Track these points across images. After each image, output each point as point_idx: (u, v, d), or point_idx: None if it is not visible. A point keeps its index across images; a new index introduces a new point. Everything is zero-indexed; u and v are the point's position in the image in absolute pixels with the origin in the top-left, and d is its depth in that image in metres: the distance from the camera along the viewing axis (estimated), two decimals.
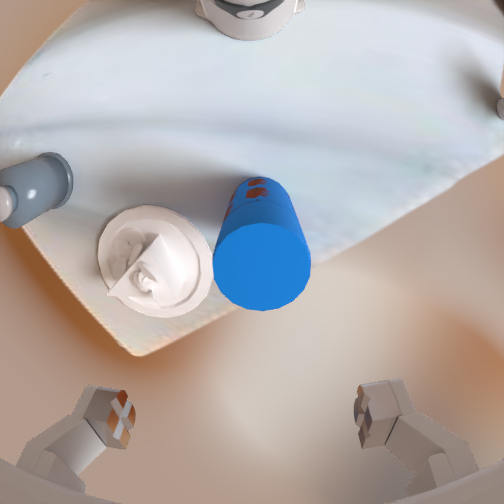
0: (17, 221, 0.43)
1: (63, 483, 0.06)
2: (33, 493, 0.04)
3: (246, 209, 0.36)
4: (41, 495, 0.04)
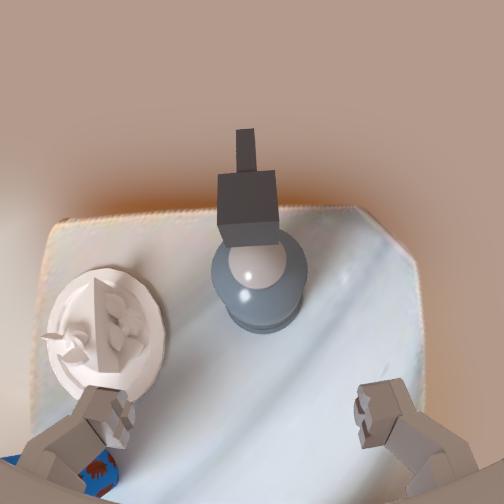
0: (223, 258, 0.36)
1: (63, 483, 0.06)
2: (33, 493, 0.04)
3: None
4: (41, 495, 0.04)
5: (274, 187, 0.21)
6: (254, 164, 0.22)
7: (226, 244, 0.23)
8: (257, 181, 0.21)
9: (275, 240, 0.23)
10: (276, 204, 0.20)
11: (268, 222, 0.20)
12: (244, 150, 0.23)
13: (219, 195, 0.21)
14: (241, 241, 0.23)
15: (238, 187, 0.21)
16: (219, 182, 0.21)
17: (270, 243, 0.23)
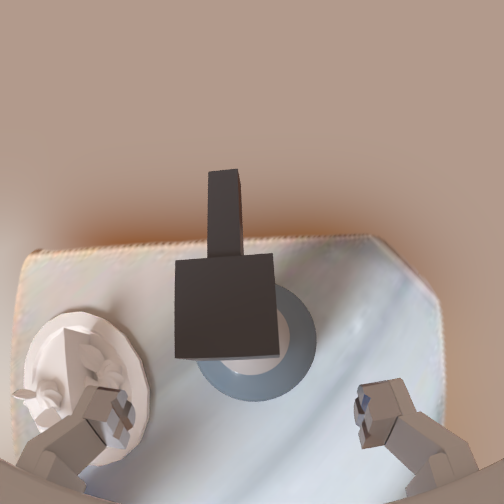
0: None
1: (63, 483, 0.06)
2: (33, 493, 0.04)
3: None
4: (41, 495, 0.04)
5: (272, 288, 0.12)
6: (237, 239, 0.13)
7: (198, 360, 0.14)
8: (242, 276, 0.12)
9: (273, 357, 0.14)
10: (275, 322, 0.12)
11: (261, 355, 0.11)
12: (221, 211, 0.14)
13: (177, 302, 0.12)
14: None
15: (209, 287, 0.12)
16: (177, 276, 0.12)
17: (266, 358, 0.15)
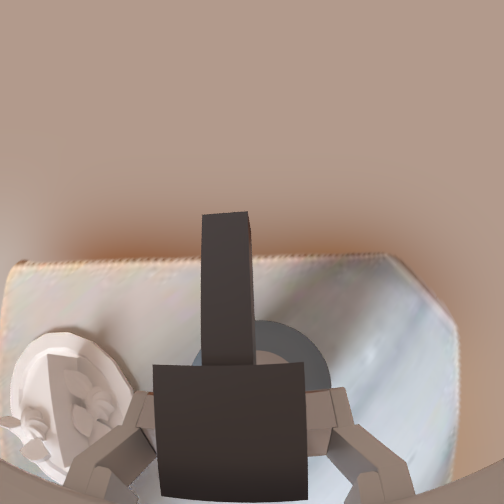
0: None
1: (118, 500, 0.06)
2: (33, 493, 0.04)
3: None
4: (41, 495, 0.04)
5: (301, 415, 0.07)
6: (248, 333, 0.08)
7: None
8: (256, 397, 0.07)
9: None
10: (304, 462, 0.07)
11: (282, 500, 0.06)
12: (222, 284, 0.09)
13: (159, 427, 0.07)
14: None
15: (205, 411, 0.07)
16: (157, 389, 0.07)
17: None
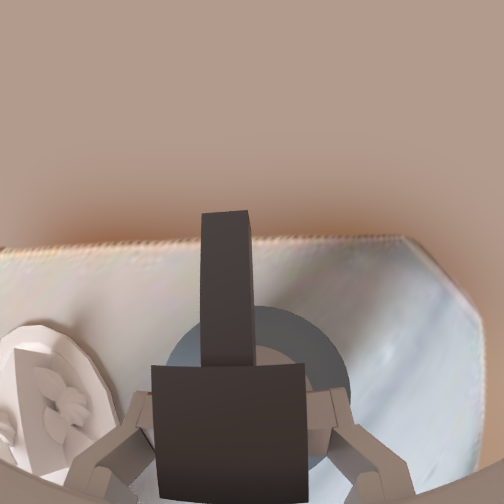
0: None
1: (118, 500, 0.06)
2: (33, 493, 0.04)
3: None
4: (41, 495, 0.04)
5: (302, 417, 0.07)
6: (248, 334, 0.08)
7: None
8: (256, 398, 0.07)
9: None
10: (304, 464, 0.06)
11: (282, 502, 0.06)
12: (221, 284, 0.09)
13: (158, 428, 0.07)
14: None
15: (204, 413, 0.07)
16: (155, 391, 0.07)
17: None
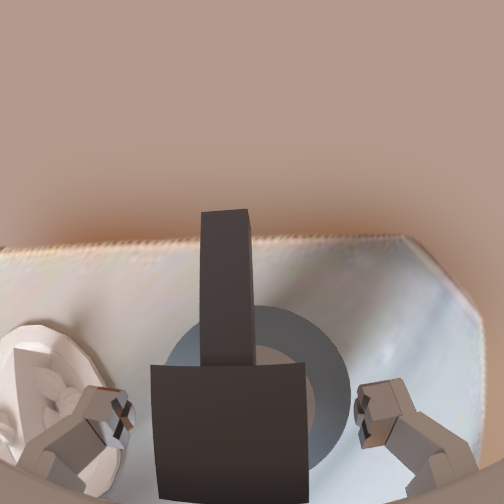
0: None
1: (63, 483, 0.06)
2: (33, 493, 0.04)
3: None
4: (41, 495, 0.04)
5: (302, 417, 0.07)
6: (248, 333, 0.08)
7: None
8: (256, 398, 0.07)
9: None
10: (305, 465, 0.06)
11: (283, 503, 0.06)
12: (221, 283, 0.09)
13: (157, 428, 0.07)
14: None
15: (204, 413, 0.07)
16: (155, 390, 0.07)
17: None
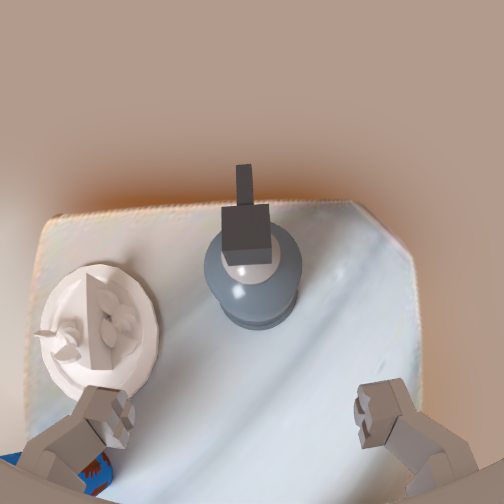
0: (216, 252, 0.36)
1: (63, 483, 0.06)
2: (33, 493, 0.04)
3: None
4: (41, 495, 0.04)
5: (268, 219, 0.26)
6: (251, 197, 0.27)
7: (228, 263, 0.28)
8: (254, 213, 0.26)
9: (268, 260, 0.28)
10: (269, 233, 0.25)
11: (263, 248, 0.25)
12: (243, 184, 0.27)
13: (223, 225, 0.26)
14: (240, 261, 0.28)
15: (238, 218, 0.26)
16: (222, 214, 0.26)
17: (264, 262, 0.28)
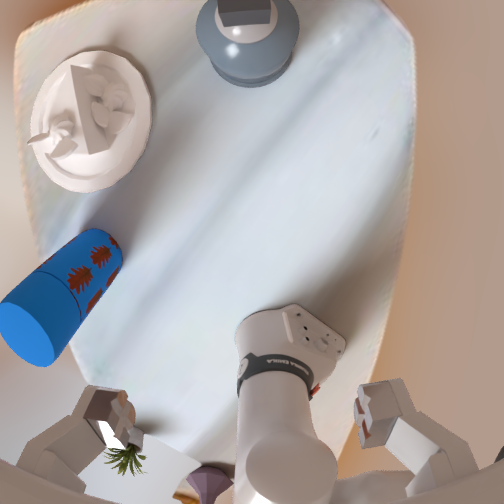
0: (208, 16, 0.26)
1: (63, 483, 0.06)
2: (33, 493, 0.04)
3: (72, 326, 0.36)
4: (41, 495, 0.04)
5: None
6: None
7: (224, 25, 0.21)
8: None
9: (266, 21, 0.21)
10: None
11: (262, 10, 0.18)
12: None
13: None
14: (237, 22, 0.21)
15: None
16: None
17: (262, 23, 0.21)
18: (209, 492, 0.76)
